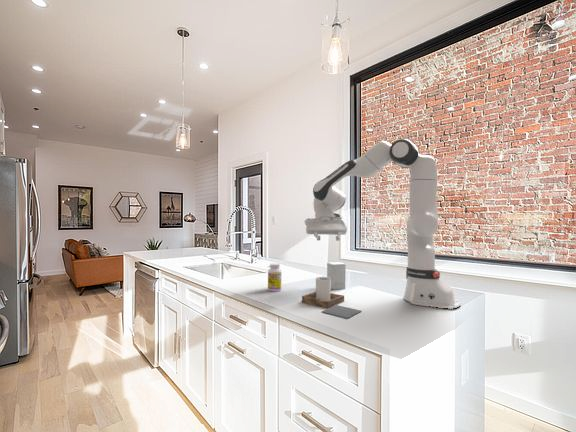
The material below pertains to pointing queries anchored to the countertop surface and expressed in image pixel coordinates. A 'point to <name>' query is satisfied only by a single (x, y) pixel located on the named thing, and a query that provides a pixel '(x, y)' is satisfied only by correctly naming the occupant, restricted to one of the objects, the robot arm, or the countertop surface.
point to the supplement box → (336, 274)
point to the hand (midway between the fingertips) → (328, 239)
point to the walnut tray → (327, 304)
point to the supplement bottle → (274, 277)
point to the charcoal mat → (341, 311)
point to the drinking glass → (323, 288)
